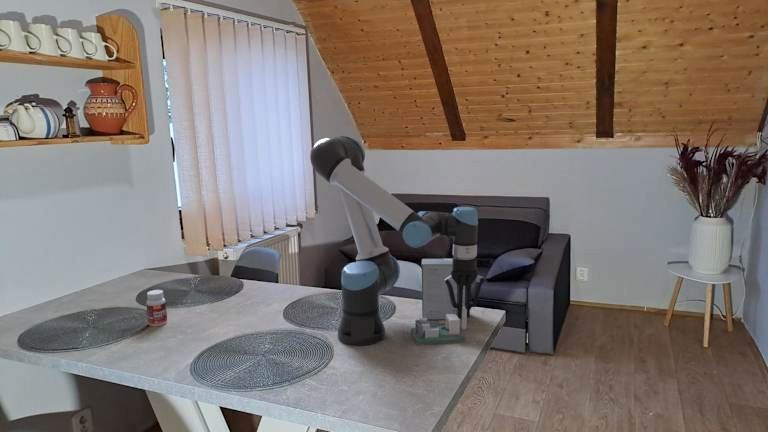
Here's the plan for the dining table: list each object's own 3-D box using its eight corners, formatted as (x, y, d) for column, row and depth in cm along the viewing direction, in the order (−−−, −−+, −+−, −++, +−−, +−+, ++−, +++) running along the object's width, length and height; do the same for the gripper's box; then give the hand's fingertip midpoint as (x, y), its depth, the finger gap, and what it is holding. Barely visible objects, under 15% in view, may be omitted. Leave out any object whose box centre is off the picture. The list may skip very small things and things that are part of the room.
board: (416, 344, 168) (416, 328, 167) (411, 331, 179) (411, 316, 178) (464, 341, 170) (464, 326, 169) (456, 328, 180) (456, 313, 179)
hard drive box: (465, 312, 195) (466, 258, 191) (466, 320, 187) (467, 264, 183) (422, 311, 196) (422, 257, 192) (421, 319, 189) (421, 264, 185)
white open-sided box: (449, 334, 172) (449, 320, 171) (445, 328, 177) (445, 314, 176) (459, 334, 172) (459, 319, 171) (455, 327, 178) (455, 313, 177)
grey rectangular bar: (417, 328, 172) (417, 325, 172) (416, 325, 174) (416, 322, 174) (446, 326, 173) (445, 322, 172) (444, 323, 175) (444, 319, 175)
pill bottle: (155, 328, 185) (152, 296, 182) (144, 324, 188) (141, 293, 186) (171, 322, 190) (168, 291, 188) (160, 318, 193) (157, 288, 191)
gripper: (447, 260, 166) (445, 333, 171) (488, 259, 168) (486, 331, 172) (441, 254, 173) (440, 324, 178) (481, 252, 175) (479, 322, 180)
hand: (463, 327), depth 175 cm, fingers closed
